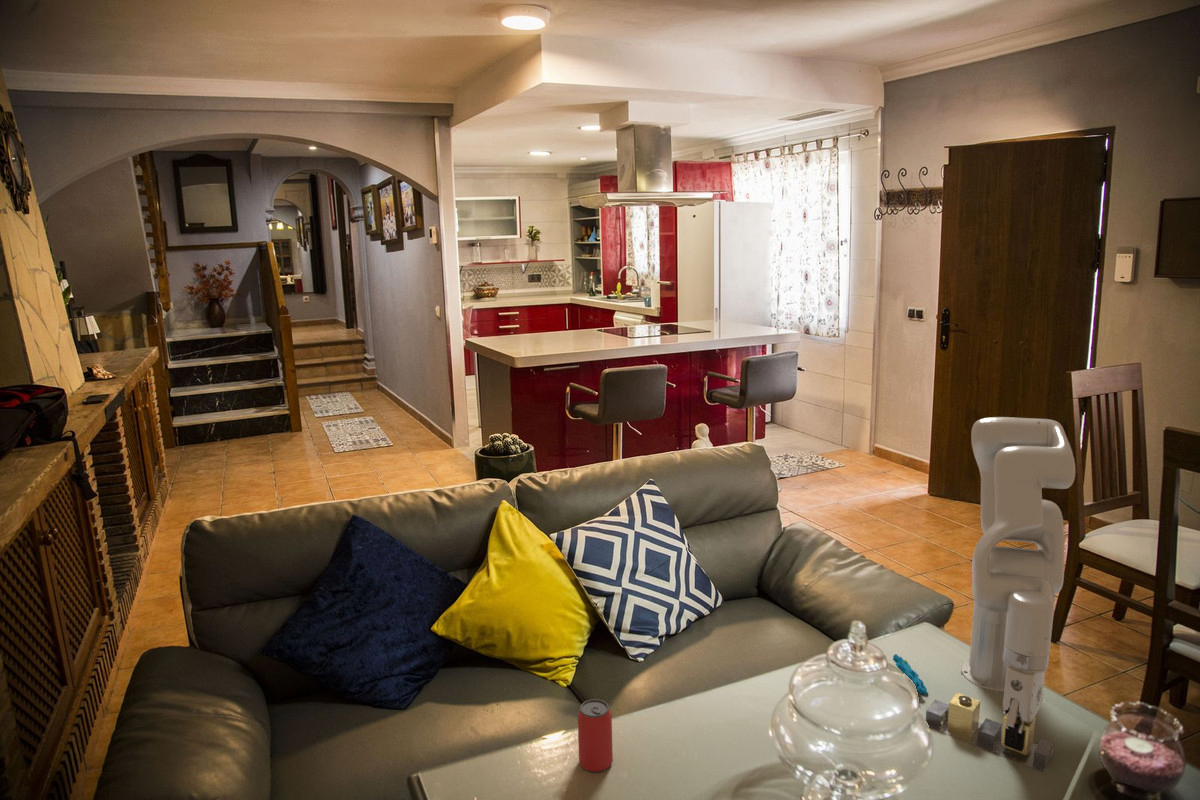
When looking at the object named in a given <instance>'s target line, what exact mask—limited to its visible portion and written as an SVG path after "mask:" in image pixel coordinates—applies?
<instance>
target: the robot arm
mask: <svg viewBox="0 0 1200 800" xmlns="http://www.w3.org/2000/svg"><path fill="white" fill-rule="evenodd" d="M970 437H971V438H970V439H971V441H970V442H971V448H972V449H971V450H972V452H973V456H974V459H975V461H976V464H977V467H978V470H979V475H980V525H981V526H980V527H981V530H982V532H983V534H982V535H981V536H980V538H979V540H978V541H977V543H976V545H975V548H974V550H973V554H972V561H971V568H972V569H971V575H972V577H971V578H972V579H971V581H972V583H971V588H972V597H973V600H974V601H973V610H972V611H973V613H972V614H973V615H972V625H971V637H970V639H971V640H970V650H969V660H968V661H967V662H964V664H962V665H961V669H960V675H962V676H963V677H964V678H965V679H966V680H967V681H969V682H970V683H972V684H973V685H975V686H978V687H980V688H983V689H986V690H990V691H994V692H995V691H996V692H1003V698H1002V699H1003V700H1002V713H1003V714H1004V716H1005V715H1007V714H1008V716H1007V722H1006V729H1005V739H1004V745H1005V746H1007V747H1010V748H1013V749H1015V750H1018V751H1022V750H1023V745H1024V735H1025V732H1023V728H1024V721H1025V722H1027V723H1029V722H1031V721H1032V720H1033V719H1034V717H1035V716H1036V715H1037V713H1038V712H1039V710H1040V708H1041V707H1042V704H1043V701H1044V686H1045V672H1046V671H1048V670H1049V669H1048V668H1049V662H1050V661H1049V660H1050V651H1051V642H1052V641H1051V640H1052V631H1053V621H1054V615H1055V614H1054V613H1055V604H1054V603H1055V599H1056V598H1055V595H1057V594H1059V593H1060V592H1061V590H1062V588H1063V585H1064V578H1065V572H1064V571H1065V558H1064V557H1065V553H1064V551H1065V550H1064V546H1065V545H1064V544H1065V543H1064V541H1065V540H1064V539H1065V537H1064V534H1065V533H1064V531H1065V530H1064V528H1065V527H1064V517H1063V514H1062V511H1061V509H1060V506H1058V505H1057V503H1055V502H1053V501H1052V500H1047V499H1043V496H1042V495H1043V493H1042V492H1043V490H1042V489H1056V490H1057V489H1058V490H1064V489H1065V490H1066V489H1069V488H1070V487H1071V486H1073V484H1074V481H1075V478H1076V462H1075V457H1074V454H1073V453H1074V452H1073V449H1072V447H1071V444H1070V442H1069V440H1068V437H1067V435H1066V432H1065V430H1064V427H1063V425H1061V423H1060V422H1059V421H1056V420H1053V419H1049V418H1033V417H1032V418H1030V417H1029V418H1028V417H1013V416H1012V417H1009V416H993V417H990V416H989V417H984V418H980V419H978V420H976V421H975V422H974V423H973V425H972V428H971V435H970ZM1001 541H1008V542H1022V543H1031V544H1032V543H1034V544H1035V545H1036V547H1037V549H1035V548H1025V547H1023V548H1022V547H1013V546H1001V545H997V544H999V543H1000V542H1001ZM1018 713H1020V715H1018ZM1016 719H1018V720H1020V725H1019V724H1018V723H1016Z"/></svg>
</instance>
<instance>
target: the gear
mask: <svg viewBox="0 0 1200 800" xmlns="http://www.w3.org/2000/svg"><path fill="white" fill-rule="evenodd" d="M892 660H893V662H894V663H895V666H896V667H897V668H898V670H899V669H900V670H901V671H902V672H903V673H905V674H906V675H907V676H908V677H909V678H910V679H911V680H912V681H913V683H914V684H915V686H914V687H916V690H917V692H919V694H923V696H925V695H928V694H929V692H928V691H927V687H926V686H925V685H924V681H923V680H922V679H920V678H919V674H918V672H916V671H914V669H913V668H912V666H911V665H910V664H909V661H908V660H907V659H904V658H903V657H902V656H899V655H898V654H897V653H895V654H894V655H893V657H892Z"/></svg>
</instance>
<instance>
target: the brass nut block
mask: <svg viewBox="0 0 1200 800" xmlns="http://www.w3.org/2000/svg"><path fill="white" fill-rule="evenodd" d="M1018 715H1020V713H1018ZM1007 716H1008V714H1007V715H1005V714H1004V716H1003V719H1002V739H1001V746H1004V747H1006V748H1009V749H1012V750H1014V751H1017V752H1019V753H1022V754H1024V755H1027V753H1028V752H1029V750H1030V748H1031V746H1032V745H1033V743H1034V736H1035V728H1036V718H1037V716H1036V715H1035V717H1034V719H1033V720H1032V721H1031V722H1029V723H1027V722H1025V721H1024V728H1023V732H1025V735H1024V745H1023V750H1022V751H1018V750H1015V749H1013V748H1010V747H1007V746H1005V745H1004V739H1005V729H1006V722H1007ZM1016 723H1018V724H1019V725H1020V720H1018V719H1016Z"/></svg>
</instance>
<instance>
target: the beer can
mask: <svg viewBox="0 0 1200 800" xmlns="http://www.w3.org/2000/svg"><path fill="white" fill-rule="evenodd" d="M577 735H578V738H577V739H578V761H579V765H580V766H581V768H583V769H584V770H586V771H588V772H592V773H593V772H594V773H595V772H596V773H597V772H604V771H605V770H607V769H609V767H610V766H611V765H612V763H613V759H614V758H613V755H614V754H613V719H612V713H611V710H610V705H609V704H608V703H607V702H606V701H605V700H602V699H598V698H597V699H596V698H595V699H594V698H593V699H589V700H585V701H584V702H583V703H581V705H580V707H579V711H578V714H577Z"/></svg>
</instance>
